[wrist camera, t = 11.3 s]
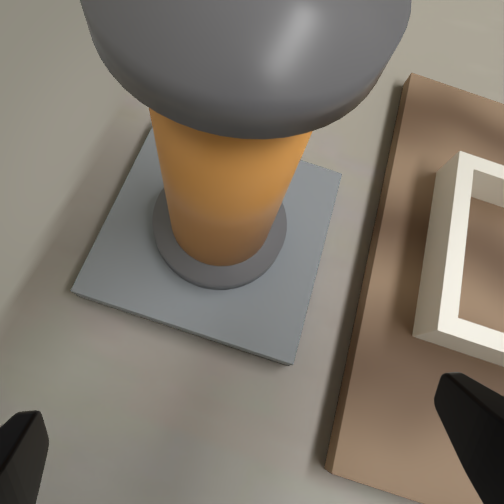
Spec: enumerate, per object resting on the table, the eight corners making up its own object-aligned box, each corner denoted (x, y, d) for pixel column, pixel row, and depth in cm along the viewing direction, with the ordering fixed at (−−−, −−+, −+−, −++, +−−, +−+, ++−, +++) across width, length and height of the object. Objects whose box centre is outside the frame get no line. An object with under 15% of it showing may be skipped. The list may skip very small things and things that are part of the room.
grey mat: (288, 365, 17) (293, 364, 16) (77, 296, 17) (70, 290, 16) (335, 183, 21) (342, 173, 20) (161, 124, 21) (159, 112, 20)
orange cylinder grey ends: (307, 232, 18) (472, -10, 7) (217, 318, 17) (249, 169, 5) (222, 151, 19) (250, -174, 8) (127, 223, 17) (-7, -72, 6)
